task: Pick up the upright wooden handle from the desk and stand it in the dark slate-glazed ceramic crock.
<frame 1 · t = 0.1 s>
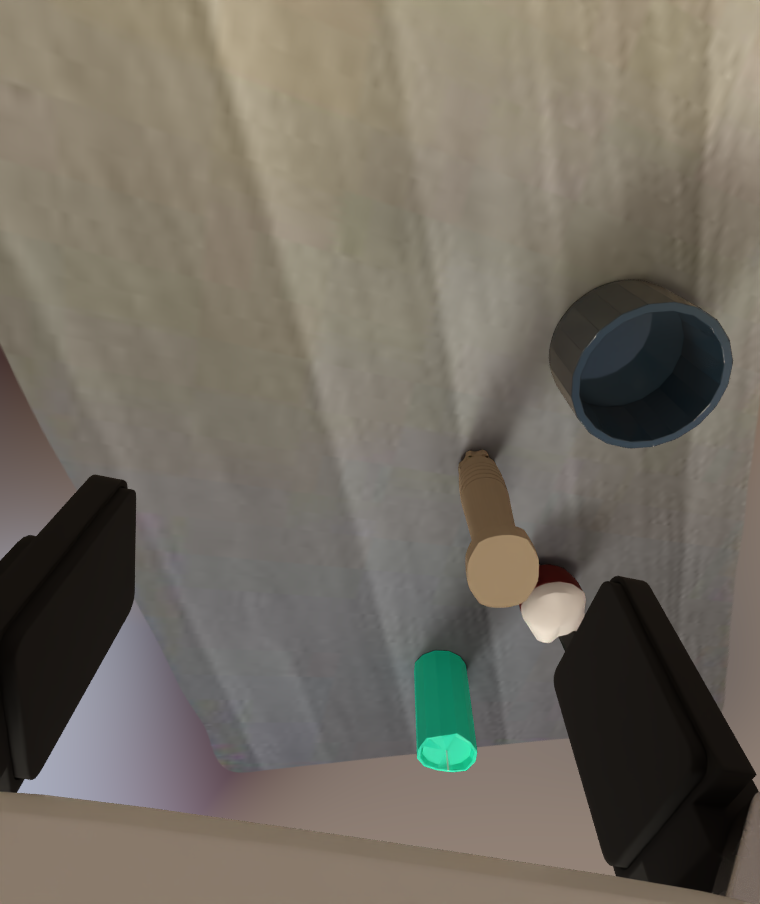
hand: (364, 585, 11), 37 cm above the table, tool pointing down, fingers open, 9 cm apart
crock: (617, 348, 47), on the table
handle: (475, 461, 52), on the table
candle: (439, 667, 66), on the table
cocoa: (543, 580, 59), on the table
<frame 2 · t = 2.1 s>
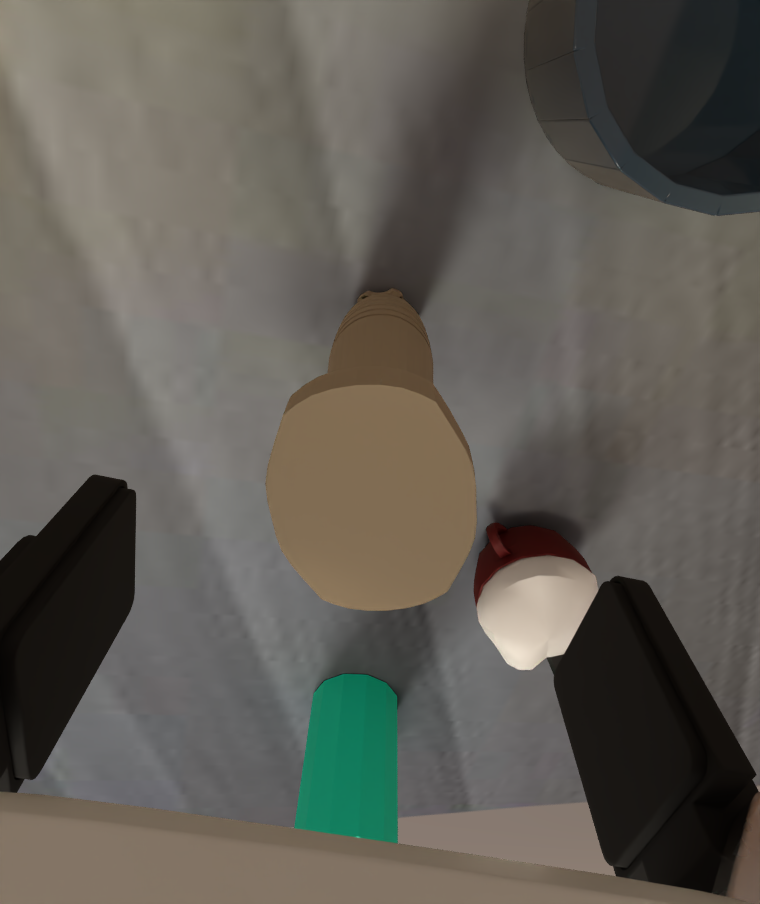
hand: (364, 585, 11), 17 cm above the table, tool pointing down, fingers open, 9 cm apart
crock: (676, 25, 21), on the table
handle: (383, 319, 27), on the table
candle: (355, 699, 40), on the table
cocoa: (522, 556, 33), on the table
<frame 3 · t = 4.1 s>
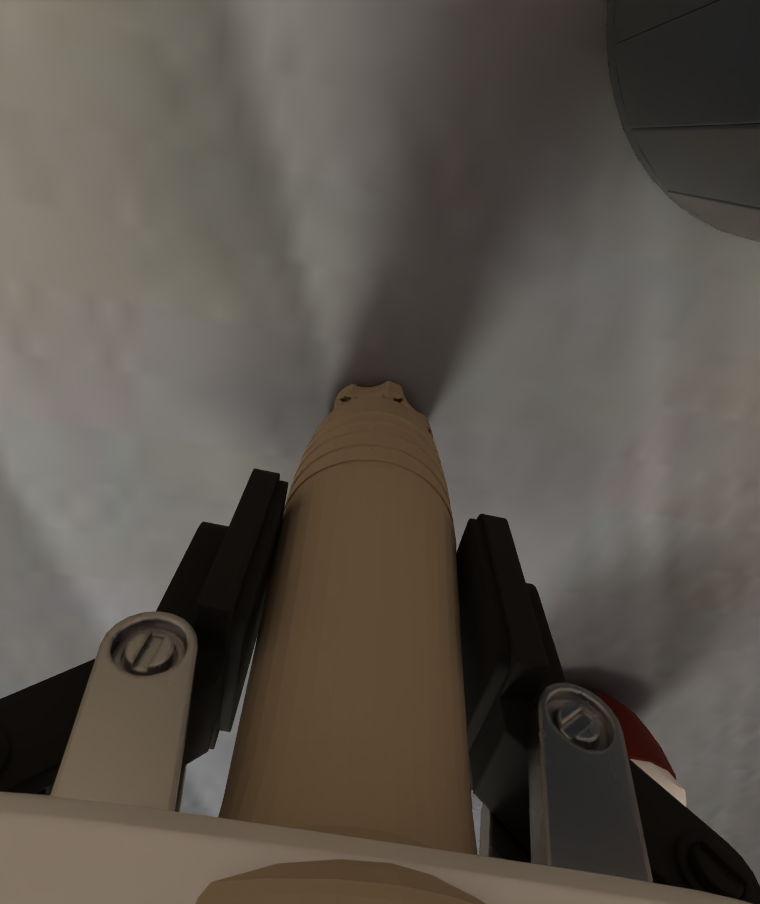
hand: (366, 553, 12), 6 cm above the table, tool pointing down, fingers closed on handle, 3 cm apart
handle: (375, 421, 18), on the table, touching gripper
cocoa: (565, 718, 25), on the table
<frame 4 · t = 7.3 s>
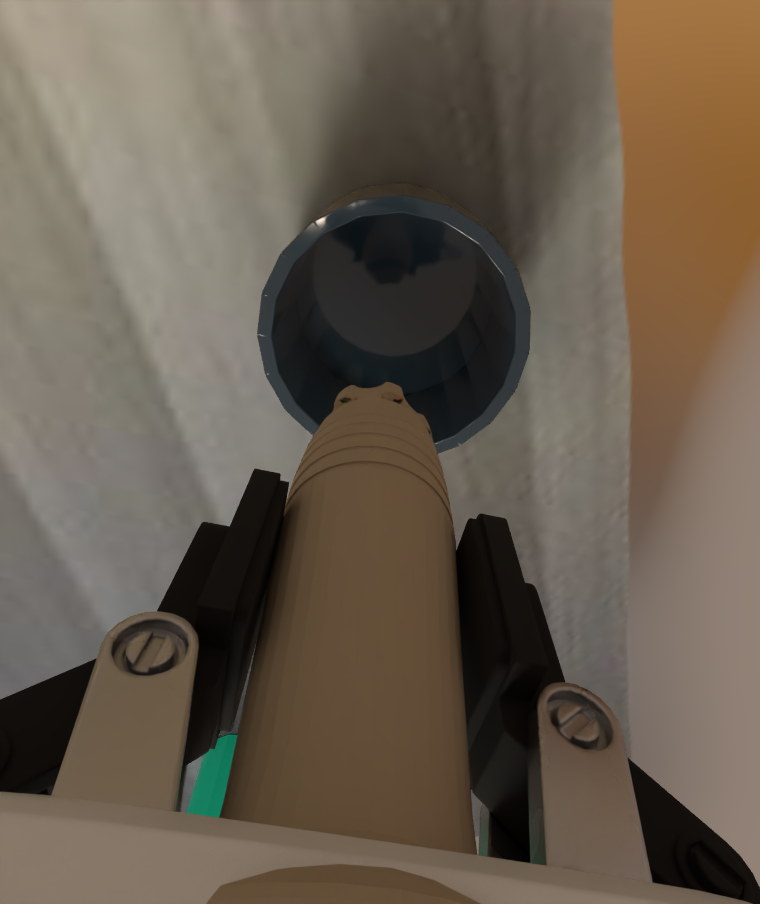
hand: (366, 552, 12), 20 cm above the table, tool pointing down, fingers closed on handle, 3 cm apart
crock: (394, 301, 29), on the table
handle: (375, 422, 18), point 13 cm above the table, touching gripper
candle: (242, 754, 48), on the table
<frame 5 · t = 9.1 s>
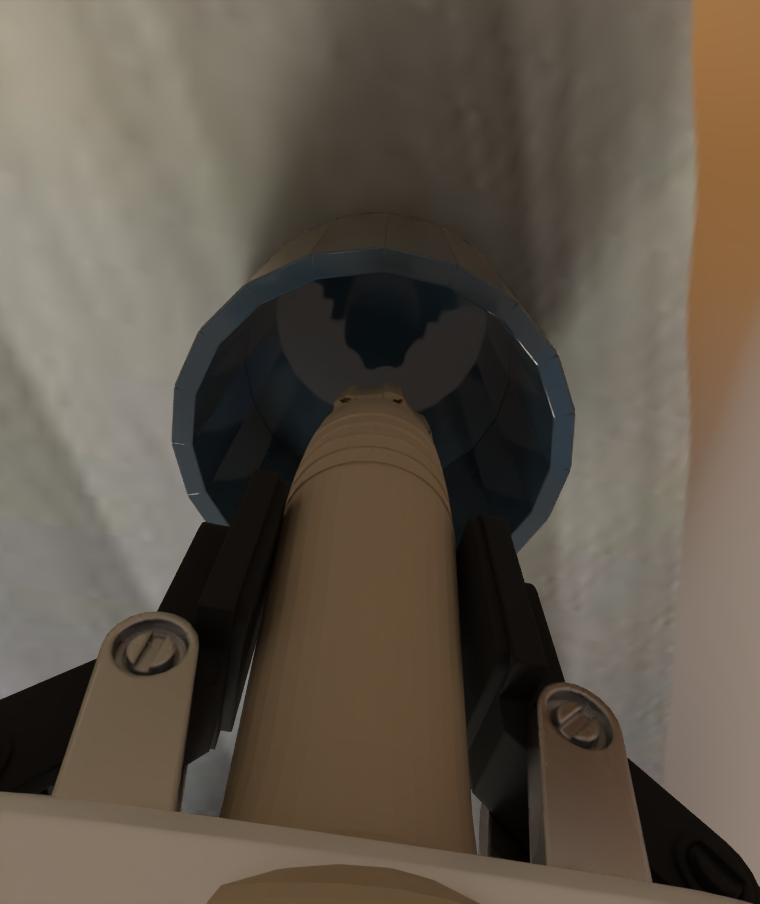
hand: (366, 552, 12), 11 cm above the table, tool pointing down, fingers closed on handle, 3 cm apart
crock: (378, 366, 22), on the table
handle: (375, 422, 18), point 5 cm above the table, touching gripper
when the fingers open (7 cm above the table, at t = 10.6 s): handle stays where it is, resting on crock.
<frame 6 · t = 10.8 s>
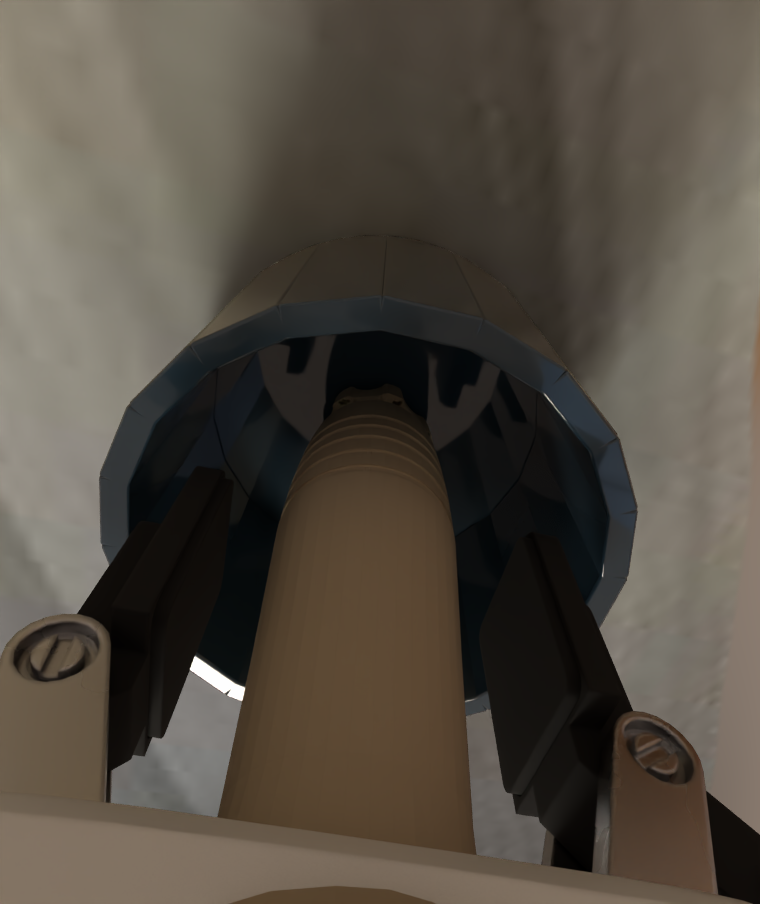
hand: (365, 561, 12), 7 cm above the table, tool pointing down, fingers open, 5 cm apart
crock: (375, 418, 18), on the table, touching handle
handle: (374, 424, 18), resting on crock
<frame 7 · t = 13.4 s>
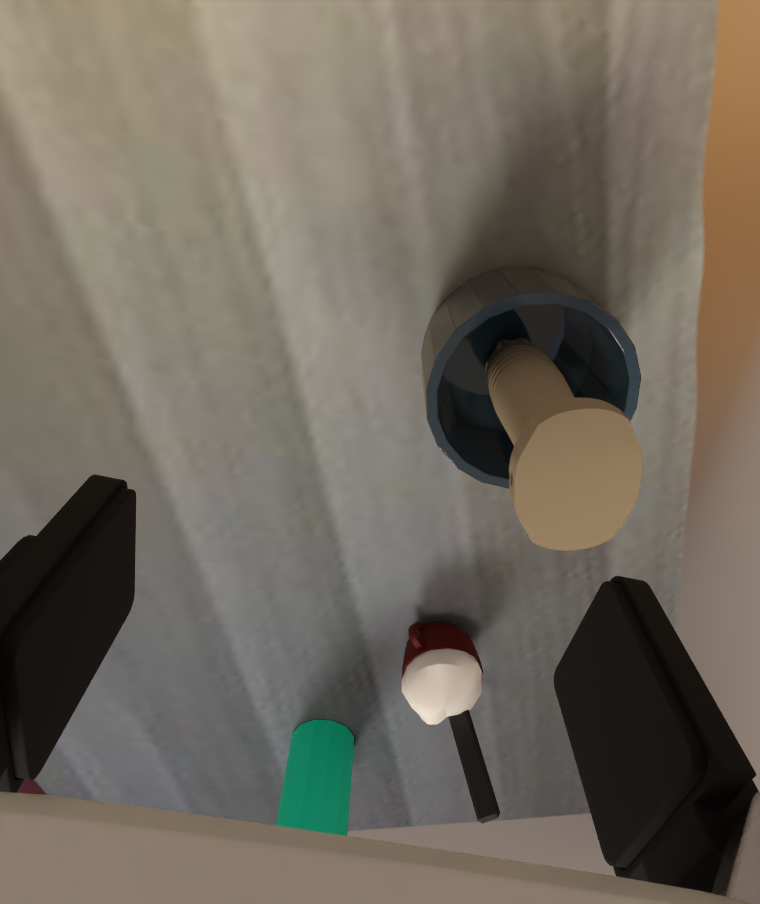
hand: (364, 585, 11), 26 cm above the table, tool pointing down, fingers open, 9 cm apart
crock: (508, 356, 36), on the table, touching handle
handle: (509, 358, 36), resting on crock
candle: (323, 738, 54), on the table
cocoa: (439, 641, 48), on the table
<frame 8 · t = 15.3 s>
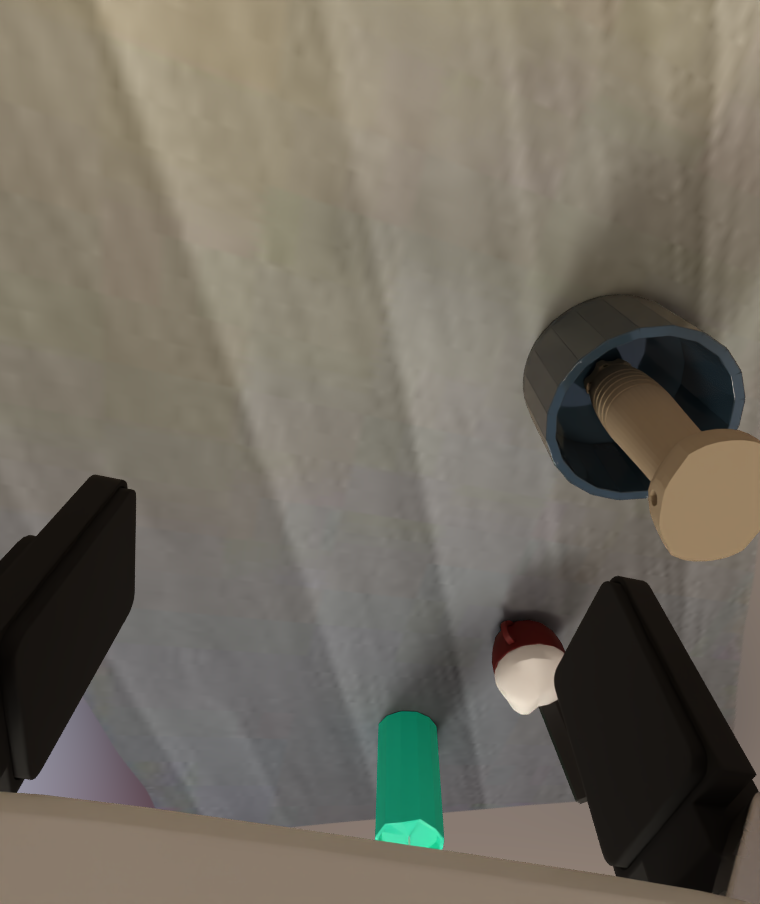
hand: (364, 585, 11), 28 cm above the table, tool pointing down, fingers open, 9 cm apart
crock: (604, 375, 39), on the table, touching handle
handle: (606, 377, 39), resting on crock
candle: (407, 728, 58), on the table
cocoa: (522, 636, 51), on the table
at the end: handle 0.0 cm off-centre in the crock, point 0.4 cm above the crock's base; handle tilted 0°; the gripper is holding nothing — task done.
